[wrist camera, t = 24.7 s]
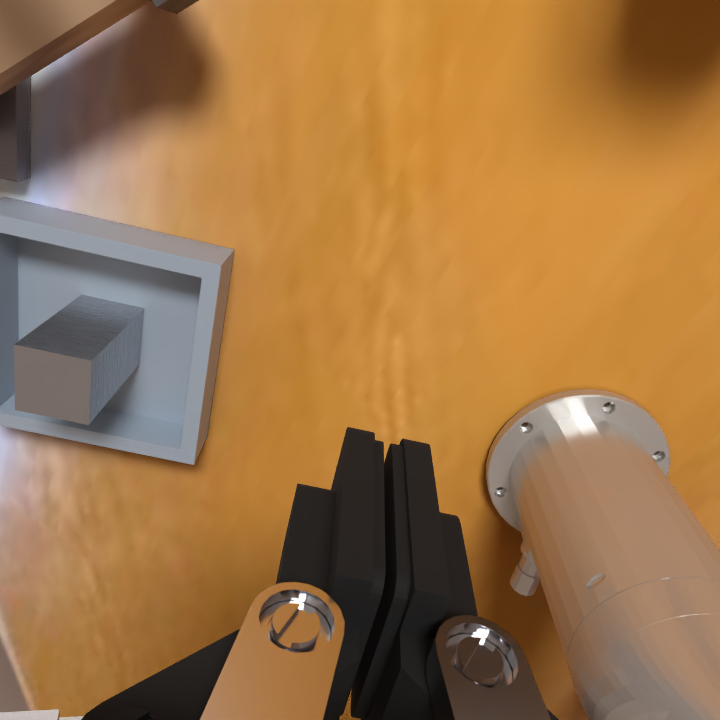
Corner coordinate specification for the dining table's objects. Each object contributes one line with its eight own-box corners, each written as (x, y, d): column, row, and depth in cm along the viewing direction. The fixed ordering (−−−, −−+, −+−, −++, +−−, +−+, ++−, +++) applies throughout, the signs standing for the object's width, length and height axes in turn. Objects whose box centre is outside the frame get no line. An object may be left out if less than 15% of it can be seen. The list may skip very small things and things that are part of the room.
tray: (207, 436, 44) (193, 465, 41) (8, 395, 43) (-22, 421, 40) (234, 249, 38) (221, 265, 35) (5, 196, 37) (-30, 208, 34)
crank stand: (191, 215, 37) (184, 220, 36) (-91, 149, 36) (-109, 152, 35) (228, -116, 30) (221, -125, 29) (-119, -210, 29) (-144, -224, 28)
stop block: (139, 363, 41) (88, 424, 34) (79, 350, 41) (14, 409, 33) (144, 308, 39) (91, 360, 32) (81, 294, 39) (13, 344, 32)
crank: (-48, 161, 34) (-113, 174, 30) (-113, 73, 32) (-193, 72, 28) (222, -4, 31) (195, -17, 26) (166, -114, 29) (126, -150, 24)
